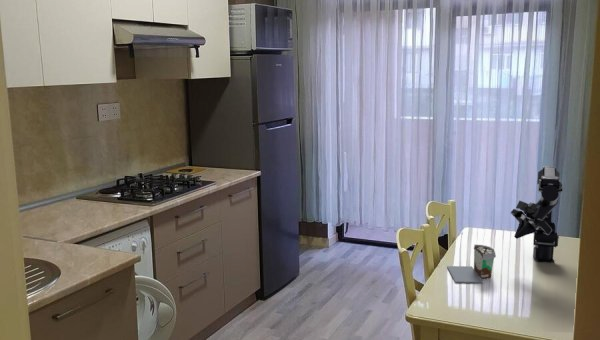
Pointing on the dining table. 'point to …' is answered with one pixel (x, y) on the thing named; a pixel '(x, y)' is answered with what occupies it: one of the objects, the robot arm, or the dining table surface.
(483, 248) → the food container
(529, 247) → the dining table surface
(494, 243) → the dining table surface
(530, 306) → the dining table surface
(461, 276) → the grey rubber mat
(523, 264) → the dining table surface
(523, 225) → the robot arm
